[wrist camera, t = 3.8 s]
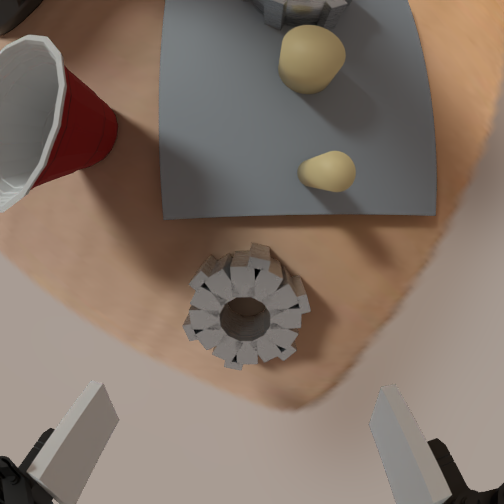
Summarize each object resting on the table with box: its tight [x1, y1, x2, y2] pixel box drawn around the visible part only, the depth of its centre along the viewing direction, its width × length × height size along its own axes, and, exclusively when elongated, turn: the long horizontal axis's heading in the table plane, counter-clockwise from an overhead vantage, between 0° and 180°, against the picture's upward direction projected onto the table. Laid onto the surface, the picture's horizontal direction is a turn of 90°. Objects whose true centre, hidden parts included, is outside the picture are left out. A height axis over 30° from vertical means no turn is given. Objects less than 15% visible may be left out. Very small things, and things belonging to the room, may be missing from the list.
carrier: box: [159, 0, 437, 220], centre depth 15 cm, size 22×22×8 cm
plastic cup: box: [0, 35, 118, 212], centre depth 14 cm, size 11×11×12 cm
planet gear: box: [183, 243, 311, 370], centre depth 22 cm, size 9×9×4 cm
